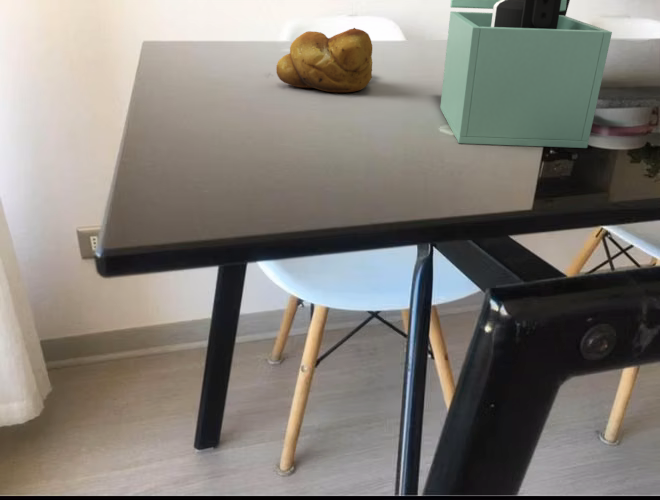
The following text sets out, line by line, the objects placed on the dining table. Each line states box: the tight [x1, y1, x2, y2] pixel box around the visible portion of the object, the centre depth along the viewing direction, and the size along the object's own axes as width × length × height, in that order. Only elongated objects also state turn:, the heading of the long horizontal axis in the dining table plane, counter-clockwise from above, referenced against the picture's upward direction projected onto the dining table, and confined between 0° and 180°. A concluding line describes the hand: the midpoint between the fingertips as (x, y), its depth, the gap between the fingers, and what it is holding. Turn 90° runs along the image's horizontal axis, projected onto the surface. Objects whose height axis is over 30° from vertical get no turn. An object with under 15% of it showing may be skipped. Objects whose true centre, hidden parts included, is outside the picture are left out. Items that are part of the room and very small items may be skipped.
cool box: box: [439, 11, 613, 149], centre depth 65 cm, size 14×12×11 cm
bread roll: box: [275, 27, 373, 93], centre depth 81 cm, size 13×10×8 cm
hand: (524, 28), depth 63 cm, fingers open, 9 cm apart
